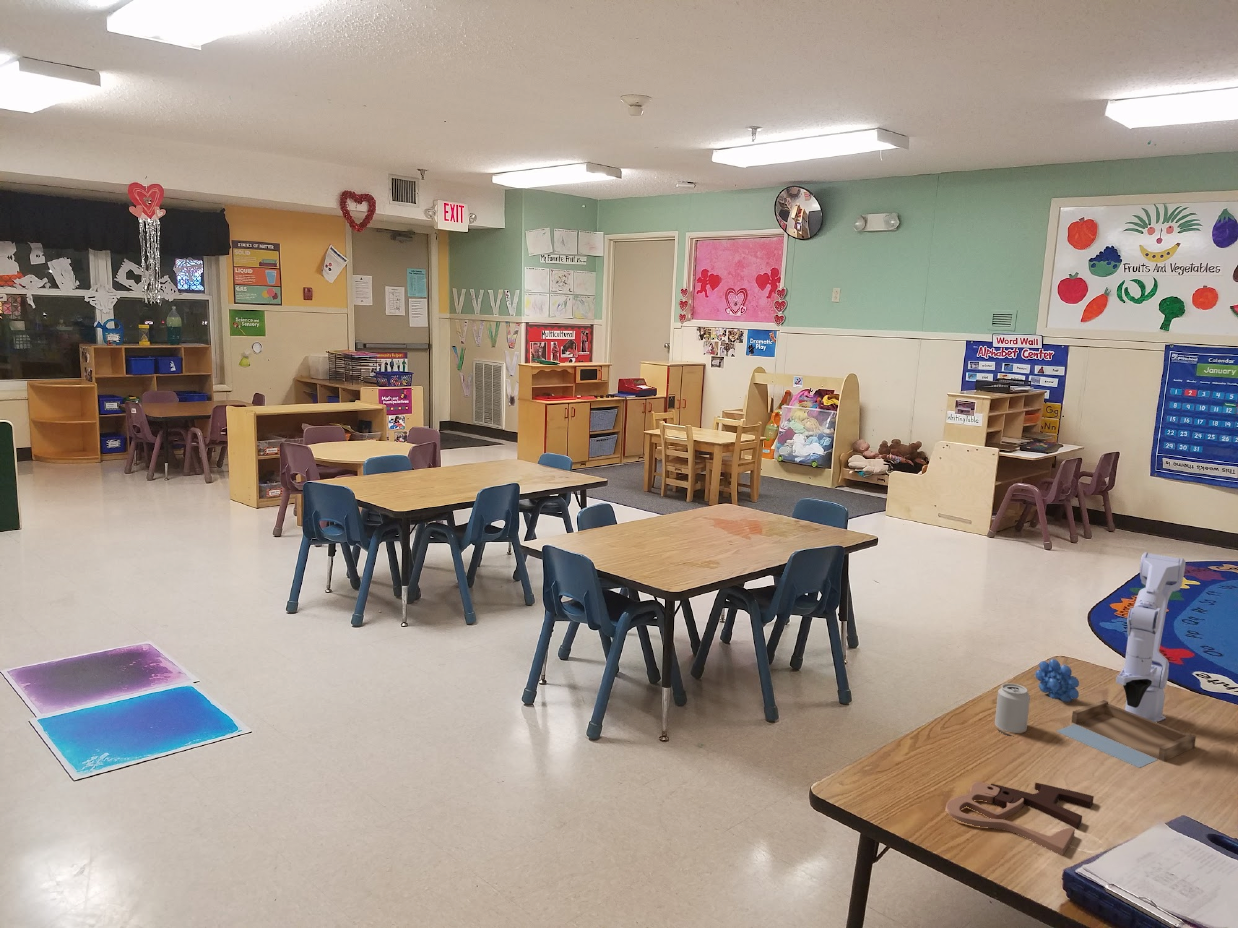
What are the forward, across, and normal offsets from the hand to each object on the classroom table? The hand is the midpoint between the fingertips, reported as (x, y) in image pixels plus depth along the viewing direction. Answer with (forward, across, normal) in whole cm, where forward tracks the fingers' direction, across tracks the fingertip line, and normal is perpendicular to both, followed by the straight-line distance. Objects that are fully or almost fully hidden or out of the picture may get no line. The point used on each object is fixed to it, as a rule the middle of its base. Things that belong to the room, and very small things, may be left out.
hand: (1132, 705), depth 225 cm
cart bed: (+9, +1, 0) cm, 9 cm away
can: (+10, -22, +18) cm, 30 cm away
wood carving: (+10, -53, -6) cm, 54 cm away
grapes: (+10, +4, +23) cm, 25 cm away
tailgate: (+8, -6, 0) cm, 10 cm away
